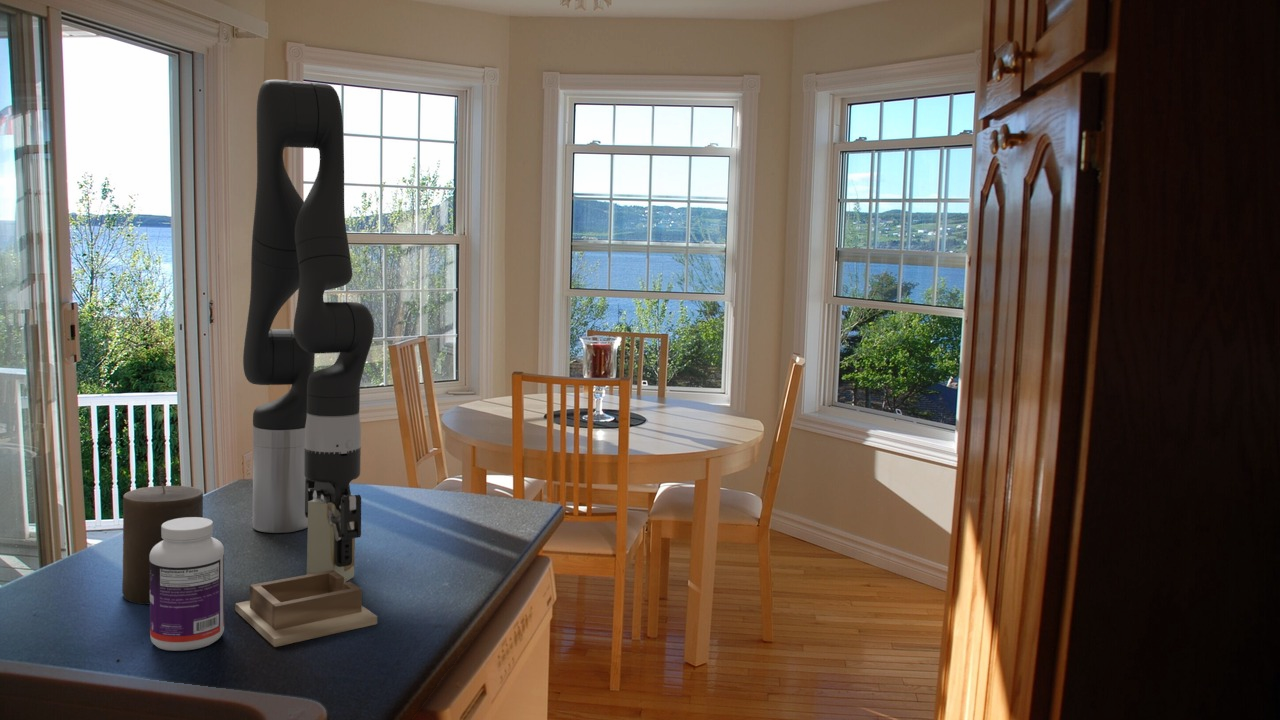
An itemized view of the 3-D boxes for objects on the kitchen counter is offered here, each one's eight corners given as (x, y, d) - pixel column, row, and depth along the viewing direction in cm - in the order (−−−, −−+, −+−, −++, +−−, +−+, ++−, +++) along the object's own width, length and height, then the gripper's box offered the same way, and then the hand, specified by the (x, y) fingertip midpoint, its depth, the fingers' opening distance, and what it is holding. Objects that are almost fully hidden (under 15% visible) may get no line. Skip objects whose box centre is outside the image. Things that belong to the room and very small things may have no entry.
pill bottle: (166, 627, 119) (165, 513, 118) (233, 628, 120) (233, 514, 119) (138, 654, 111) (136, 532, 110) (210, 655, 112) (210, 533, 111)
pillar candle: (162, 609, 125) (162, 495, 123) (105, 596, 128) (105, 485, 127) (218, 587, 134) (220, 481, 132) (164, 576, 137) (165, 472, 136)
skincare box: (333, 590, 134) (334, 504, 133) (305, 587, 135) (306, 501, 134) (356, 576, 141) (357, 493, 139) (328, 572, 142) (329, 490, 140)
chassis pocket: (235, 610, 126) (235, 580, 125) (332, 591, 134) (332, 563, 134) (274, 647, 115) (274, 614, 115) (377, 624, 123) (377, 593, 123)
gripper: (287, 437, 139) (286, 549, 141) (327, 456, 128) (326, 576, 130) (337, 433, 144) (336, 540, 145) (380, 451, 133) (378, 567, 135)
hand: (331, 557), depth 138 cm, fingers open, 7 cm apart
